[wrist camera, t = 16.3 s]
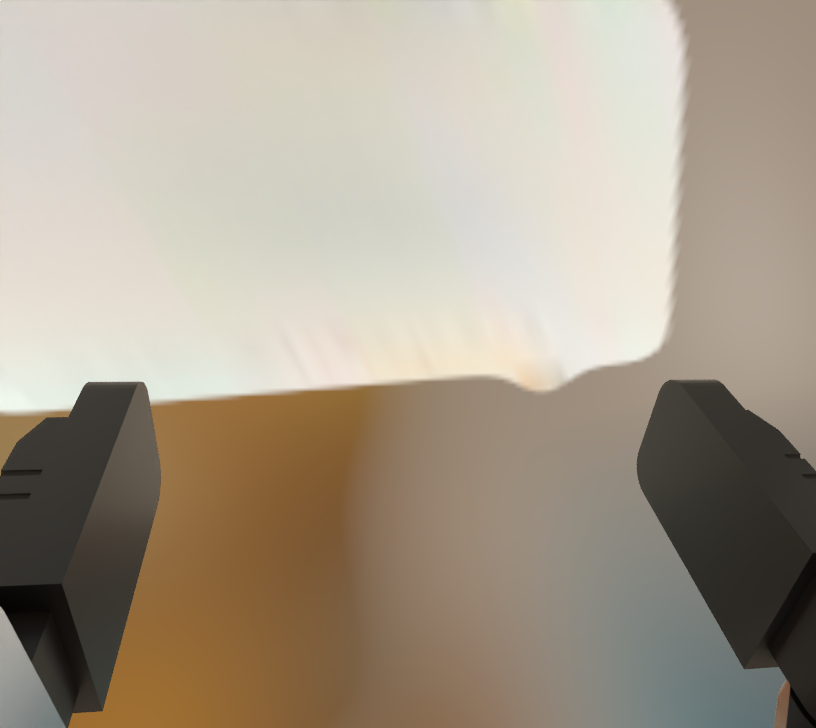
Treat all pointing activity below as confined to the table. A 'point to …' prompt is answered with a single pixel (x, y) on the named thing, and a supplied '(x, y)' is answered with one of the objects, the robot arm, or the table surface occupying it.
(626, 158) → the table surface
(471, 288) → the table surface
